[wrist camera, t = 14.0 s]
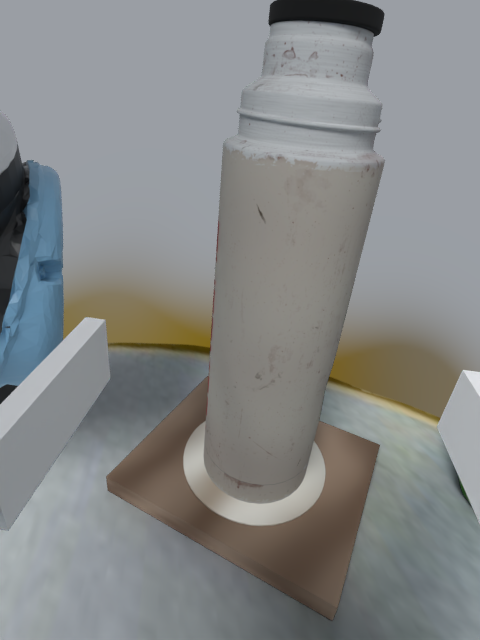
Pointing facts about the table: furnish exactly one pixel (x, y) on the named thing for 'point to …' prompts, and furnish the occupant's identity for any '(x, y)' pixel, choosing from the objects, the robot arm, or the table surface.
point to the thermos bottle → (289, 242)
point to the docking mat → (256, 505)
